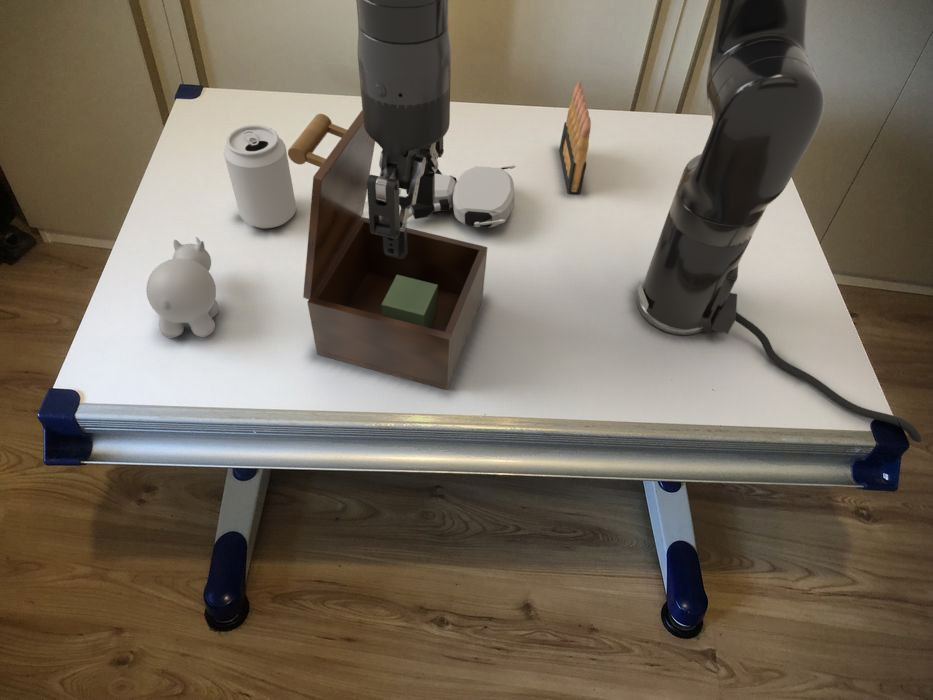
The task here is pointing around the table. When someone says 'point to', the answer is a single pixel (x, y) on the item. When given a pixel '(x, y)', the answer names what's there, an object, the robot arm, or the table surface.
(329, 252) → the lid
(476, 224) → the robot toy
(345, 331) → the chest
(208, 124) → the table surface
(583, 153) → the ammunition clip
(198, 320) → the chubby cartoon animal
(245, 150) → the can
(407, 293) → the block
